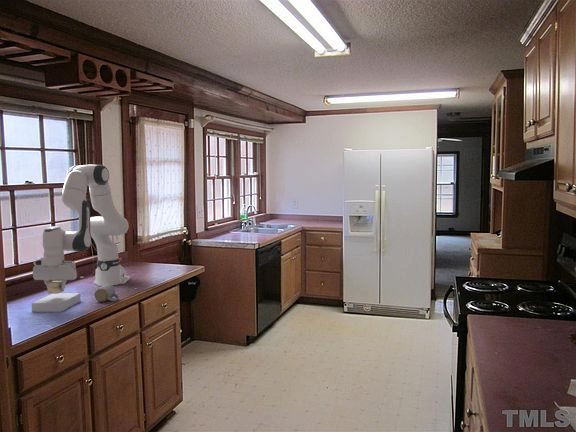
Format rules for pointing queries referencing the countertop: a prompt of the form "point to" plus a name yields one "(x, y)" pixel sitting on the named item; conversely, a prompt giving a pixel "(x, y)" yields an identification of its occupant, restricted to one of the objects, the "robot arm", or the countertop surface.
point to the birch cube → (54, 287)
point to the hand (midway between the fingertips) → (55, 288)
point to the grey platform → (56, 302)
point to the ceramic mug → (106, 293)
